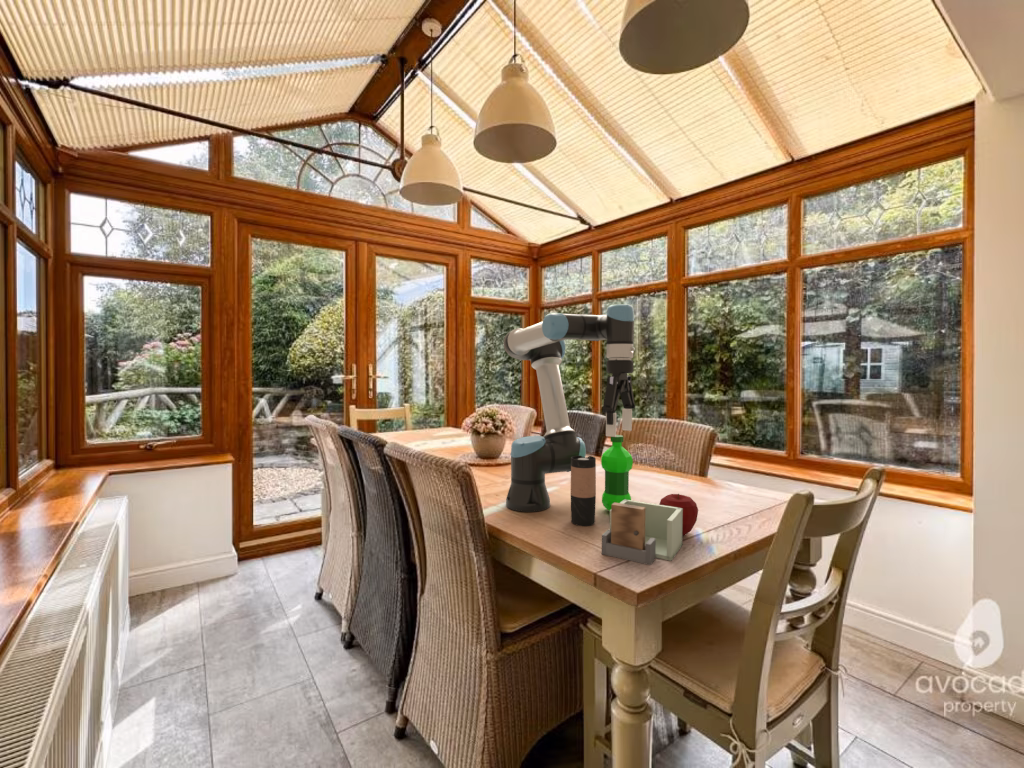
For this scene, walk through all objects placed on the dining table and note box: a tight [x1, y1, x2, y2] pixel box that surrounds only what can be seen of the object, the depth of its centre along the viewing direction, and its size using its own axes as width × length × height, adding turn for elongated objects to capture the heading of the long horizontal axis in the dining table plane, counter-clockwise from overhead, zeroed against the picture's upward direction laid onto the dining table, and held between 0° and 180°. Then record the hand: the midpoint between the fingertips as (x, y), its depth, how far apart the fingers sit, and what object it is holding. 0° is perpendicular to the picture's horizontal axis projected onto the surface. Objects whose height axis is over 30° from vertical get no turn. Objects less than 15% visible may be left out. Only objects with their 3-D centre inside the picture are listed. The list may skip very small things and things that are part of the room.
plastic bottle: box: [600, 434, 634, 513], centre depth 155 cm, size 10×10×25 cm
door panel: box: [611, 502, 645, 550], centre depth 118 cm, size 8×3×13 cm, turn 58°
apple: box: [658, 493, 699, 537], centre depth 134 cm, size 11×11×12 cm
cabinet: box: [601, 499, 683, 566], centre depth 123 cm, size 16×17×10 cm
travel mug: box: [570, 455, 597, 527], centre depth 144 cm, size 8×8×20 cm
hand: (619, 433), depth 135 cm, fingers open, 13 cm apart
